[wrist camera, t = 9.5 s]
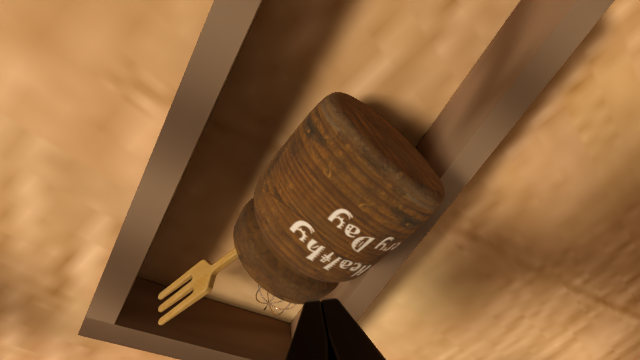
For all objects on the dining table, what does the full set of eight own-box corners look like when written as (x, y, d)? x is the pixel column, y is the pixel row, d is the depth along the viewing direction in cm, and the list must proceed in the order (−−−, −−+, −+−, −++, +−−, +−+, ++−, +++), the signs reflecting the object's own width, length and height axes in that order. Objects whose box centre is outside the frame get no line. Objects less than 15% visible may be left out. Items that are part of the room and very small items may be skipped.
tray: (317, -218, 11) (331, -288, 8) (557, -7, 15) (620, -8, 12) (105, 286, 18) (77, 334, 16) (298, 341, 22) (302, 388, 19)
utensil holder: (402, 126, 17) (261, 272, 22) (302, 58, 13) (157, 255, 18) (477, 218, 13) (285, 373, 18) (367, 161, 9) (157, 380, 14)
